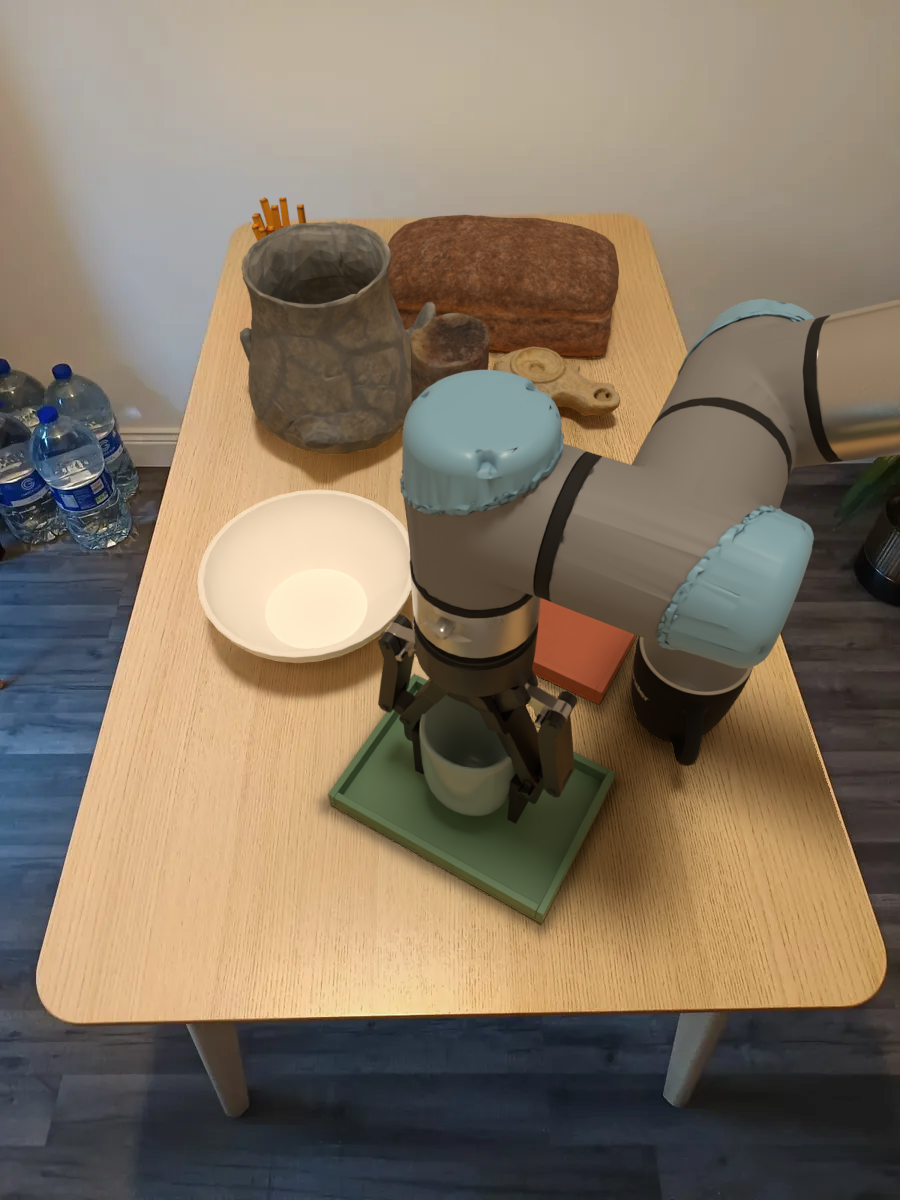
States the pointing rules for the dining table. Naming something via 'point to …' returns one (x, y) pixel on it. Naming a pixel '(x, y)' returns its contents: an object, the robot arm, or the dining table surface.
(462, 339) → the candle
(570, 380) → the oil lamp
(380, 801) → the green tray
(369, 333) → the vessel
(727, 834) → the dining table surface
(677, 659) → the mug
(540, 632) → the terracotta tray
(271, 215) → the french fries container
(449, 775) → the cup
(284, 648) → the bowl
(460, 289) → the bread
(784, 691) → the dining table surface
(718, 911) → the dining table surface
